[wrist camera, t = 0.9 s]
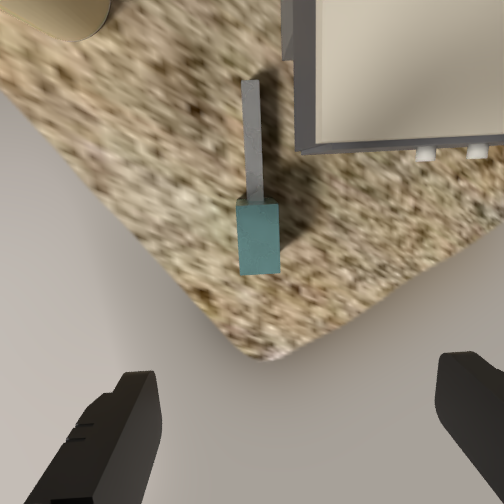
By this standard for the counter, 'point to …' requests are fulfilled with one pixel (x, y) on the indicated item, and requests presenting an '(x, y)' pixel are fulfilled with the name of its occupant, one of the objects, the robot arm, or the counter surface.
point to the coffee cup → (60, 16)
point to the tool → (256, 197)
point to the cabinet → (396, 75)
